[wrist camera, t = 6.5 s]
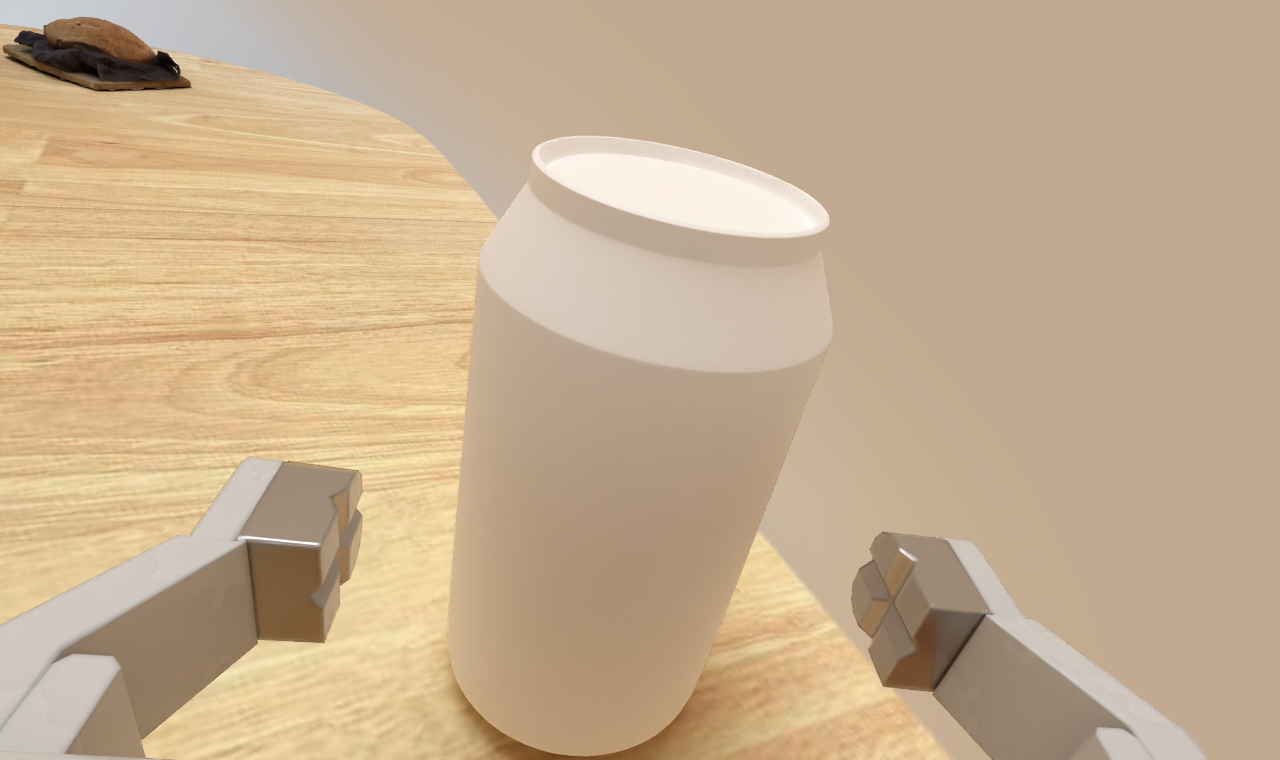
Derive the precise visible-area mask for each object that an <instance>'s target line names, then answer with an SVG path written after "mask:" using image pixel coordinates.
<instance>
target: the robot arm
mask: <svg viewBox="0 0 1280 760" xmlns="http://www.w3.org/2000/svg"><path fill="white" fill-rule="evenodd" d="M361 494H362V474H361V473H360V472H359V471H358V470H350V469H343V468H336V467H329V466H322V465H314V464H307V463H300V462H293V461H287V462H286V461H281V460H274V459H266V458H259V457H252V456H250V457H249V458H247V459H245V460H243V461H242V462H241V463H240V464H239V466H238V467H237V469H236V470H235V471H234V473H233V474H232V476H231V477H230V478H229V480H228V481H227V483H226V484H225V486H224V487H223V488H222V490H221V491H220V493H219V494H218V495H217V497H216V498H215V500H214V501H213V503H212V504H211V505H210V507H209V508H208V510H207V511H206V512H205V514H204V515H203V517H202V518H201V520H200V521H199V522H198V524H197V525H196V527H195V528H194V529H193V531H192V532H191V534H190V535H189V536H182V535H176V536H174V537H172V538H170V539H168V540H166V541H164V542H162V543H160V544H158V545H156V546H154V547H153V548H151V549H149V550H147V551H145V552H143V553H141V554H139V555H137V556H135V557H133V558H131V559H129V560H127V561H125V562H123V563H121V564H119V565H117V566H115V567H113V568H111V569H109V570H107V571H105V572H103V573H101V574H99V575H97V576H95V577H93V578H91V579H90V580H88V581H86V582H84V583H82V584H80V585H78V586H76V587H74V588H72V589H70V590H68V591H66V592H64V593H62V594H60V595H58V596H56V597H54V598H52V599H50V600H48V601H46V602H44V603H42V604H40V605H38V606H36V607H34V608H32V609H30V610H28V611H26V612H25V613H23V614H21V615H19V616H17V617H15V618H13V619H11V620H9V621H7V622H5V623H3V624H1V625H0V760H174V759H154V758H145V754H144V750H143V746H142V743H141V740H142V739H144V738H145V737H146V736H147V735H148V734H150V733H151V732H152V731H153V730H154V729H156V728H157V727H158V726H159V725H160V724H162V723H163V722H164V721H165V720H166V719H168V718H169V717H170V716H171V715H172V714H174V713H175V712H176V711H177V710H178V709H180V708H181V707H182V706H183V705H184V704H186V703H187V702H188V701H189V700H190V699H192V698H193V697H194V696H195V695H196V694H198V693H199V692H200V691H201V690H202V689H204V688H205V687H206V686H207V685H208V684H210V683H211V682H212V681H213V680H214V679H216V678H217V677H218V676H219V675H220V674H222V673H223V672H224V671H225V670H226V669H228V668H229V667H230V666H231V665H232V664H234V663H235V662H236V661H237V660H238V659H240V658H241V657H242V656H243V655H244V654H246V653H247V652H248V651H249V650H250V649H252V648H253V647H254V646H255V645H256V644H258V640H274V641H294V642H314V643H325V640H326V638H327V635H328V633H329V630H330V628H331V625H332V623H333V620H334V618H335V615H336V612H337V610H338V607H339V605H340V585H342V584H343V583H345V582H346V581H348V580H349V579H350V577H351V574H352V571H353V569H354V566H355V563H356V559H357V555H358V551H359V547H360V542H361V533H362V515H361V513H360V512H359V511H358V510H357V509H356V506H357V504H358V501H359V499H360V497H361ZM870 551H871V555H872V558H873V560H872V561H870V562H869V563H867V564H865V565H864V566H862V567H861V568H860V569H859V570H858V573H857V575H856V577H855V579H854V581H853V586H852V596H851V602H852V608H853V613H854V616H855V619H856V621H857V624H858V626H859V627H860V628H861V629H862V630H863V631H864V632H865V633H866V634H867V635H869V636H870V637H871V638H872V640H871V643H870V646H869V649H868V651H869V654H870V656H871V659H872V661H873V663H874V666H875V668H876V671H877V673H878V676H879V678H880V680H881V683H882V685H883V687H891V688H901V689H910V690H919V691H928V692H934V693H933V696H934V697H935V698H936V699H937V700H938V701H939V702H940V703H941V704H942V706H943V707H944V708H945V709H946V710H947V711H948V712H949V713H950V714H951V715H952V716H953V718H954V719H955V720H956V721H957V722H958V723H959V724H960V725H961V726H962V727H963V728H964V730H965V731H966V732H967V733H968V734H969V735H970V736H971V737H972V738H973V739H974V740H975V742H976V743H977V744H978V745H979V746H980V747H981V748H982V749H983V750H984V751H985V752H986V754H987V755H988V756H989V757H990V758H991V759H992V760H1209V759H1208V757H1207V756H1206V755H1205V753H1204V752H1203V751H1202V750H1201V748H1200V747H1199V746H1198V744H1197V743H1196V742H1195V741H1194V739H1193V738H1192V737H1191V735H1190V734H1189V733H1188V732H1187V731H1186V730H1184V729H1183V728H1182V727H1180V726H1179V725H1178V724H1176V723H1175V722H1174V721H1172V720H1171V719H1170V718H1168V717H1167V716H1165V715H1164V714H1163V713H1161V712H1160V711H1159V710H1157V709H1156V708H1155V707H1153V706H1152V705H1150V704H1149V703H1148V702H1146V701H1145V700H1144V699H1142V698H1141V697H1140V696H1138V695H1137V694H1135V693H1134V692H1133V691H1131V690H1130V689H1129V688H1127V687H1126V686H1124V685H1123V684H1122V683H1120V682H1119V681H1118V680H1116V679H1115V678H1114V677H1112V676H1111V675H1110V674H1108V673H1107V672H1105V671H1104V670H1103V669H1101V668H1100V667H1099V666H1097V665H1096V664H1094V663H1093V662H1092V661H1090V660H1089V659H1088V658H1086V657H1085V656H1084V655H1082V654H1081V653H1079V652H1078V651H1076V650H1075V649H1074V648H1073V647H1071V646H1070V645H1069V644H1067V643H1066V642H1064V641H1063V640H1062V639H1060V638H1059V637H1058V636H1056V635H1055V634H1054V633H1052V632H1051V631H1049V630H1048V629H1046V628H1045V627H1044V626H1043V625H1041V624H1040V623H1039V622H1037V621H1036V620H1034V619H1026V618H1025V617H1024V615H1023V614H1022V612H1021V611H1020V609H1019V608H1018V606H1017V605H1016V603H1015V602H1014V600H1013V599H1012V597H1011V596H1010V595H1009V593H1008V592H1007V590H1006V589H1005V587H1004V586H1003V584H1002V583H1001V581H1000V580H999V578H998V577H997V575H996V574H995V572H994V571H993V569H992V568H991V566H990V565H989V563H988V562H987V560H986V559H985V557H984V556H983V554H982V553H981V551H980V550H979V548H978V547H977V546H976V545H975V544H973V543H972V542H970V541H969V540H963V539H952V538H935V537H926V536H917V535H909V534H899V533H889V532H882V533H881V534H879V535H878V536H877V537H876V538H875V540H874V541H873V543H872V545H871V547H870Z"/></svg>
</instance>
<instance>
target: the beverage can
mask: <svg viewBox="0 0 1280 760" xmlns="http://www.w3.org/2000/svg"><path fill="white" fill-rule="evenodd" d="M829 222H830V219H829V215H828V213H827V212H826V210H825V209H824V208H823V207H822V206H821V205H820V204H819V203H818V202H817V201H816V200H815V199H814V198H812V197H811V196H809V195H808V194H807V193H805V192H803V191H802V190H800V189H798V188H797V187H795V186H793V185H791V184H789V183H787V182H785V181H783V180H781V179H778V178H776V177H774V176H772V175H769V174H767V173H764V172H762V171H759V170H756V169H754V168H750V167H748V166H745V165H742V164H739V163H736V162H733V161H730V160H727V159H723V158H720V157H716V156H713V155H709V154H705V153H701V152H697V151H693V150H689V149H685V148H680V147H676V146H671V145H665V144H661V143H655V142H649V141H642V140H635V139H627V138H618V137H604V136H571V137H562V138H557V139H552V140H549V141H546V142H544V143H542V144H540V145H538V146H537V147H536V148H535V149H534V151H533V152H532V158H531V168H530V177H529V180H528V181H527V183H526V184H525V186H524V187H523V188H522V190H521V191H520V193H519V194H518V196H517V197H516V198H515V200H514V201H513V203H512V204H511V205H510V207H509V208H508V210H507V211H506V213H505V214H504V216H503V217H502V218H501V220H500V221H499V223H498V224H497V225H496V227H495V228H494V230H493V231H492V233H491V234H490V235H489V237H488V238H487V240H486V241H485V243H484V244H483V246H482V248H481V251H480V255H479V261H478V272H477V283H476V294H475V305H474V317H473V328H472V339H471V351H470V362H469V374H468V385H467V397H466V408H465V420H464V431H463V443H462V454H461V466H460V477H459V489H458V500H457V512H456V524H455V535H454V547H453V559H452V571H451V583H450V596H449V610H448V631H447V639H448V649H449V656H450V661H451V665H452V669H453V672H454V675H455V677H456V680H457V682H458V684H459V686H460V688H461V690H462V691H463V693H464V695H465V696H466V698H467V699H468V701H469V702H470V703H471V704H472V706H473V707H474V708H475V709H476V710H477V712H478V713H479V714H480V715H481V716H482V717H483V718H485V719H486V720H487V721H488V722H489V723H490V724H491V725H493V726H494V727H495V728H497V729H498V730H500V731H501V732H503V733H504V734H506V735H507V736H509V737H511V738H513V739H515V740H517V741H519V742H521V743H523V744H525V745H528V746H530V747H533V748H536V749H539V750H542V751H546V752H550V753H555V754H561V755H569V756H597V755H605V754H610V753H615V752H619V751H623V750H626V749H629V748H631V747H634V746H636V745H639V744H641V743H643V742H645V741H647V740H649V739H650V738H652V737H653V736H655V735H657V734H658V733H659V732H661V731H662V730H663V729H664V728H666V727H667V726H668V725H669V724H670V723H671V722H672V721H673V720H674V719H675V718H676V717H677V715H678V714H679V713H680V712H681V710H682V709H683V707H684V706H685V705H686V703H687V702H688V700H689V698H690V697H691V695H692V693H693V691H694V689H695V687H696V684H697V682H698V680H699V678H700V675H701V673H702V671H703V668H704V666H705V663H706V661H707V658H708V656H709V653H710V651H711V648H712V646H713V643H714V641H715V638H716V636H717V633H718V630H719V628H720V625H721V623H722V620H723V618H724V615H725V613H726V610H727V607H728V605H729V602H730V600H731V597H732V595H733V592H734V590H735V587H736V584H737V582H738V579H739V577H740V574H741V572H742V569H743V566H744V564H745V561H746V559H747V556H748V554H749V551H750V548H751V546H752V543H753V541H754V538H755V536H756V533H757V530H758V528H759V525H760V522H761V520H762V517H763V515H764V512H765V510H766V507H767V505H768V502H769V499H770V497H771V494H772V492H773V489H774V487H775V484H776V481H777V479H778V476H779V473H780V471H781V469H782V466H783V463H784V461H785V458H786V456H787V453H788V450H789V448H790V445H791V443H792V440H793V438H794V435H795V432H796V430H797V427H798V425H799V422H800V419H801V417H802V414H803V412H804V409H805V407H806V404H807V401H808V399H809V396H810V394H811V391H812V388H813V386H814V383H815V381H816V378H817V375H818V373H819V370H820V367H821V365H822V363H823V360H824V357H825V355H826V352H827V350H828V347H829V344H830V341H831V338H832V334H833V323H832V316H831V310H830V303H829V297H828V290H827V284H826V277H825V271H824V264H823V257H822V251H821V245H822V242H823V239H824V237H825V234H826V231H827V228H828V226H829Z"/></svg>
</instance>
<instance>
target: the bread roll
mask: <svg viewBox="0 0 1280 760" xmlns="http://www.w3.org/2000/svg"><path fill="white" fill-rule="evenodd" d="M43 33H44V35H42V34H39V33H33V32H32V31H21V32H20V33H19V35H18V37H16V38H15V40H14V41H15V42H16V43H17V42H18V43H19V44H20V45H4V46H3V51H4V53H7V54H8V55H9V56H12V57H13V58H15V59H19V60H20V61H21V60H22V61H23V62H24V61H25V63H26V64H29V65H30V66H35V67H36V68H38V69H39V70H42V71H45V72H47V73H52V74H54V75H56V76H59V77H60V80H63V79H67V80H70V81H71V82H76V83H79V84H80V85H82V86H84V87H89V88H93V89H95V90H99V89H108V90H111V91H114V90H116V89H119V90H120V89H129V88H130V89H132V90H141V89H144V87H147V88H153V87H154V88H157V89H163V88H166V87H181V86H184V87H186V86H191V83H190V81H189V80H188V79H186V78H184V77H183V76H180V68H179V65H177V64H176V63H175V62H174V61H173V60H172V58H171V57H170V56H169V55H168V54H167V53H164V52H161V51H158V54H157V56H156V54H155V53H154V52H153V51H152V50H151V49H150V48H149V47H148V46H147V45H146V44H145V43H144V42H143V41H141V40H140V39H139V38H138V37H137V36H135V35H134V34H133V33H131V32H130V31H129V30H127V29H125V28H123V27H121V26H119V25H116V24H113V23H111V22H109V21H106V20H101V19H97V18H90V17H78V18H73V19H61V20H56V21H53V22H51V23H49V24H48V25H44V32H43ZM23 62H22V63H23ZM172 66H173V67H175V69H177V73H176V70H174V68H173V67H172ZM176 66H177V68H176ZM191 87H192V86H191Z"/></svg>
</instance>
